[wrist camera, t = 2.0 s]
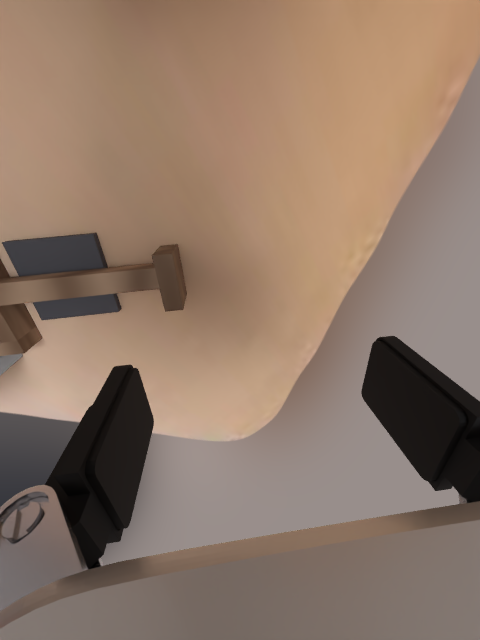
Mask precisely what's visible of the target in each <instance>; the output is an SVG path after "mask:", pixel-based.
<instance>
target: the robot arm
mask: <svg viewBox="0 0 480 640" xmlns="http://www.w3.org/2000/svg"><path fill="white" fill-rule="evenodd" d="M362 397H363V399H364V401H365V402H366V403H367V405H368V406H369V408H370V409H371V410H372V412H373V413H374V414H375V416H376V417H377V418H378V420H379V421H380V422H381V424H382V425H383V426H384V428H385V429H386V430H387V432H388V433H389V434H390V436H391V437H392V438H393V440H394V441H395V442H396V444H397V445H398V447H399V448H400V449H401V451H402V452H403V453H404V454H405V456H406V457H407V459H408V460H409V461H410V463H411V464H412V465H413V467H414V468H415V469H416V471H417V472H418V473H419V475H420V476H421V477H422V478H423V479H424V480H426V481H428V482H429V483H430V484H431V485H432V487H433V488H434V490H435V491H439V490H446V489H451V488H452V486H454V488H455V489H456V490H457V491H458V493H459V502H460V504H458V505H451V506H445V507H439V508H433V509H427V510H420V511H413V512H407V513H401V514H394V515H388V516H382V517H376V518H370V519H364V520H357V521H351V522H346V523H340V524H333V525H327V526H321V527H315V528H309V529H303V530H297V531H291V532H284V533H278V534H273V535H267V536H261V537H255V538H249V539H244V540H237V541H231V542H226V543H220V544H214V545H208V546H202V547H196V548H190V549H184V550H179V551H174V552H168V553H163V554H158V555H153V556H147V557H142V558H137V559H132V560H126V561H122V562H117V563H113V564H109V565H105V566H104V565H103V562H102V560H101V556H102V555H103V554H104V551H105V548H106V544H107V543H113V542H119V541H120V540H121V536H122V532H123V529H124V528H127V527H128V526H129V523H130V521H131V517H132V512H133V509H134V504H135V500H136V496H137V492H138V488H139V483H140V480H141V475H142V471H143V467H144V463H145V459H146V454H147V451H148V446H149V442H150V438H151V434H152V430H153V425H154V420H153V415H152V412H151V409H150V406H149V402H148V399H147V396H146V393H145V390H144V387H143V383H142V380H141V377H140V374H139V371H138V369H137V368H133V366H132V365H123V366H115V367H114V368H113V369H112V371H111V373H110V375H109V376H108V378H107V380H106V382H105V384H104V385H103V387H102V389H101V391H100V393H99V395H98V396H97V398H96V400H95V402H94V404H93V405H92V406H90V407H89V408H88V410H87V411H86V413H85V415H84V417H83V418H82V420H81V422H80V424H79V426H78V427H77V429H76V431H75V432H74V434H73V436H72V438H71V440H70V441H69V443H68V445H67V447H66V448H65V450H64V452H63V454H62V456H61V457H60V459H59V461H58V463H57V464H56V466H55V468H54V470H53V471H52V473H51V475H50V477H49V479H48V480H47V482H46V484H45V485H39V486H34V487H31V488H28V489H26V490H24V491H22V492H20V493H18V494H17V495H15V496H14V497H13V498H11V499H10V500H8V501H7V502H6V503H5V504H3V506H2V507H0V640H480V401H478V400H477V399H476V398H474V397H473V396H472V395H470V394H469V393H468V392H467V391H465V390H464V389H463V388H461V387H460V386H459V385H458V384H456V383H455V382H454V381H452V380H451V379H450V378H448V377H447V376H446V375H445V374H443V373H442V372H441V371H439V370H438V369H437V368H436V367H434V366H433V365H432V364H430V363H429V362H428V361H426V360H425V359H424V358H422V357H421V356H420V355H419V354H417V353H416V352H415V351H413V350H412V349H411V348H410V347H408V346H407V345H406V344H404V343H403V342H402V341H401V340H399V339H398V338H397V337H395V336H388V337H379V338H378V339H377V340H376V341H375V342H374V343H373V345H372V348H371V353H370V357H369V361H368V365H367V370H366V374H365V378H364V383H363V387H362Z"/></svg>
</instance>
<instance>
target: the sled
mask: <svg viewBox="0 0 480 640" xmlns="http://www.w3.org/2000/svg"><path fill="white" fill-rule="evenodd" d="M152 259H153V263H151V264H141V265H131V266H121V267H111V268H101V269H91V270H81V271H71V272H61V273H51V274H41V275H31V276H21V277H11V278H10V277H9V275H8V273H7V271H6V269H5V267H4V265H3V263H2V262H1V260H0V356H6V355H14V354H23V353H25V352H27V351H28V350H29V349H30V348H31V347H32V346H34V345H35V344H36V343H37V342H38V341H39V340H40V339H42V337H41V335H40V333H39V331H38V329H37V327H36V325H35V323H34V322H33V320H32V318H31V316H30V314H29V312H28V310H27V308H26V307H25V305H24V303H30V302H40V301H49V300H59V299H68V298H77V297H87V296H96V295H106V294H115V293H125V292H134V291H143V290H153V289H160V292H161V296H162V300H163V304H164V308H165V312H166V311H175V310H183V308H184V304H185V299H186V295H187V292H186V286H185V281H184V276H183V270H182V265H181V260H180V254H179V249H178V244H177V245H166V246H160V247H159V248H158V249H157V251H156V252H155V253H154V254H153V255H152Z"/></svg>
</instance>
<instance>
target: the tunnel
mask: <svg viewBox="0 0 480 640" xmlns="http://www.w3.org/2000/svg"><path fill="white" fill-rule="evenodd" d="M22 356H23V355H22V354H14V355H6V356H0V375H2V374H3V373H4V372H5V371H6V370H7V369H8V368H9V367H11V366H12V365H13V364H14V363H15V362H16V361H17V360H19V359H20V358H21V357H22Z"/></svg>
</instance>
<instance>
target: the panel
mask: <svg viewBox="0 0 480 640" xmlns="http://www.w3.org/2000/svg"><path fill="white" fill-rule="evenodd" d="M2 244H3V246H4V248H5V250H6V252H7V254H8V255H9V257H10V259H11V261H12V263H13V265H14V267H15V269H16V271H17V273H18V275H19V277H21V276H31V275H41V274H51V273H61V272H71V271H81V270H91V269H101V268H108V267H107V264H106V261H105V258H104V255H103V252H102V249H101V246H100V243H99V240H98V237H97V234H96V233H90V234H79V235H68V236H57V237H46V238H35V239H24V240H13V241H6V242H2ZM33 304H34V306H35V308H36V310H37V312H38V314H39V316H40V318H41V320H48V319H57V318H66V317H75V316H84V315H93V314H102V313H111V312H119V311H120V310H121V306H120V303H119V300H118V297H117V294H116V293H115V294H106V295H96V296H87V297H77V298H68V299H59V300H49V301H40V302H33Z"/></svg>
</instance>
